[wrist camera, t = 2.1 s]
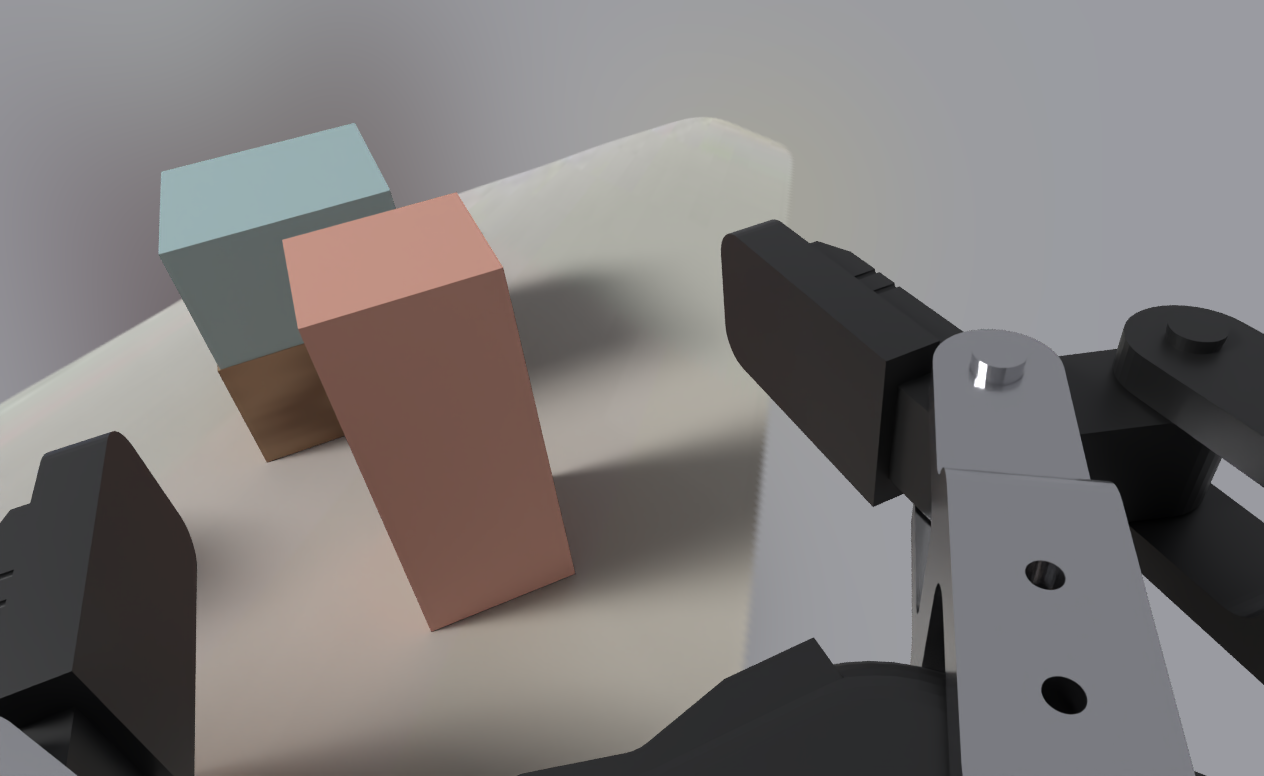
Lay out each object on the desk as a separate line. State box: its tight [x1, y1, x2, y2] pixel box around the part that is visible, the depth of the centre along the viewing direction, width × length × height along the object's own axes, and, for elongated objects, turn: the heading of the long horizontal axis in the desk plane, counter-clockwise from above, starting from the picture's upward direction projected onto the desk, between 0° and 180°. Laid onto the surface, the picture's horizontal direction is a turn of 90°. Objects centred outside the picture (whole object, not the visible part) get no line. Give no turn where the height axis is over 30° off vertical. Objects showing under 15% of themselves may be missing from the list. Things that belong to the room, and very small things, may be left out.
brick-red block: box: [282, 193, 575, 632], centre depth 25 cm, size 5×5×12 cm
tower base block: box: [217, 343, 345, 462], centre depth 37 cm, size 8×8×5 cm
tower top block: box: [159, 123, 396, 370], centre depth 33 cm, size 8×8×5 cm
